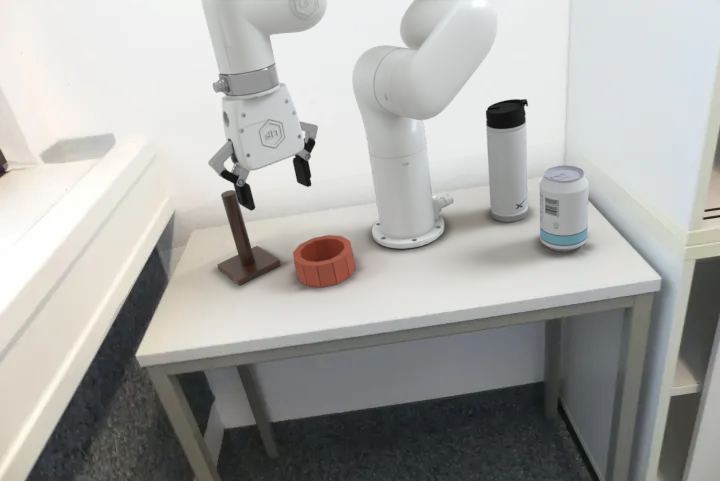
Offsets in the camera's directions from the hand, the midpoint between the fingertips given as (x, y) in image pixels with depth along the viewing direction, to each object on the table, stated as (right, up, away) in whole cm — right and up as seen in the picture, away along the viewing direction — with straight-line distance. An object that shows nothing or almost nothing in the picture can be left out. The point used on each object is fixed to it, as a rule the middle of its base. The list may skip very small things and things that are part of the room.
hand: (277, 195), depth 89 cm
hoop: (+7, -12, +8) cm, 16 cm away
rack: (-7, -11, +13) cm, 19 cm away
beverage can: (+44, -7, +5) cm, 45 cm away
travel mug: (+39, -2, +16) cm, 42 cm away
